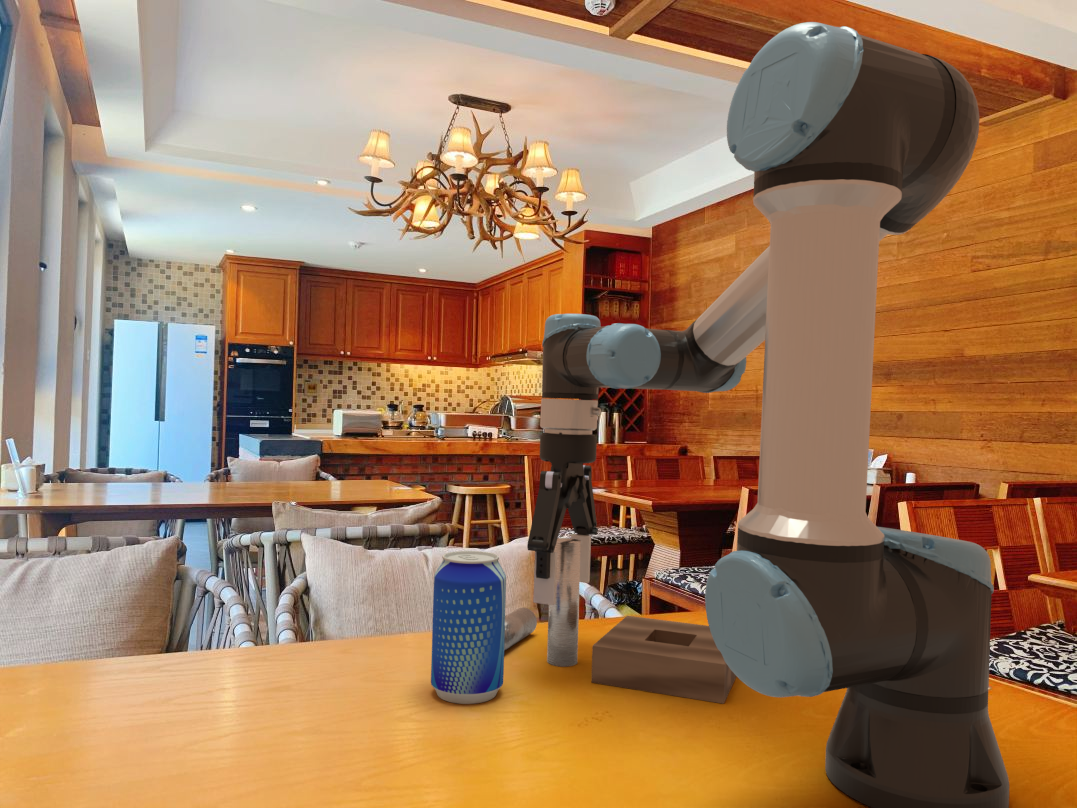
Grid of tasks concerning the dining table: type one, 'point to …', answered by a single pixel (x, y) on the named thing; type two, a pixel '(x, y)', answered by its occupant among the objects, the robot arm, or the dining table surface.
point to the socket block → (662, 659)
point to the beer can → (468, 627)
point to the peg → (565, 605)
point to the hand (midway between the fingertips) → (563, 592)
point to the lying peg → (518, 626)
